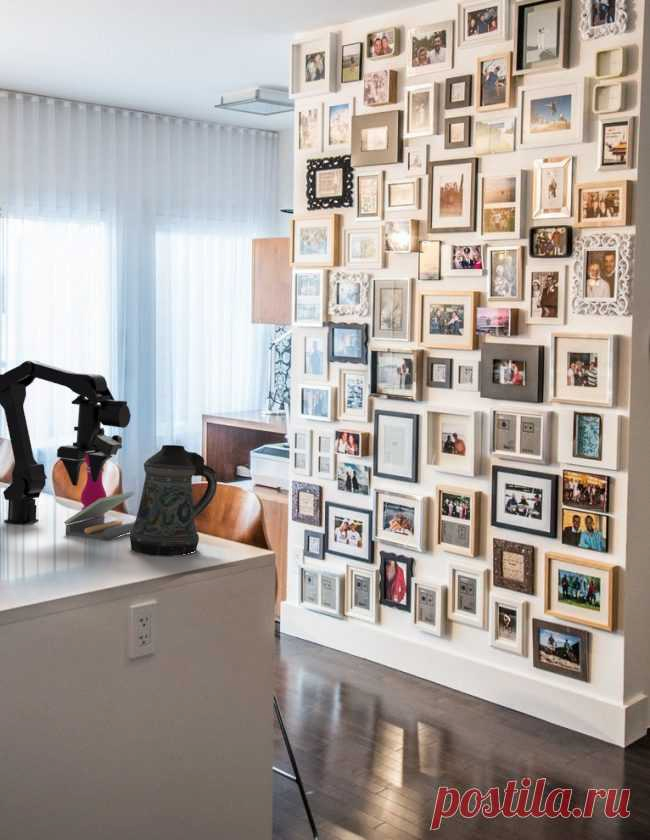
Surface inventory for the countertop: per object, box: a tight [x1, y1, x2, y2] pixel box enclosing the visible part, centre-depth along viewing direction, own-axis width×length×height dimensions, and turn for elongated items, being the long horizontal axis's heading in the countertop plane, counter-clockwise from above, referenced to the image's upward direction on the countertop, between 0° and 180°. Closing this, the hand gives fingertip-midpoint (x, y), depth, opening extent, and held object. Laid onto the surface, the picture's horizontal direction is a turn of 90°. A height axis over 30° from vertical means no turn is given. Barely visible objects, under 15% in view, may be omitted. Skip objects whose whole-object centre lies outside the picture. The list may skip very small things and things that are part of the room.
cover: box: [63, 491, 135, 526], centre depth 259 cm, size 12×16×1 cm
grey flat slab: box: [65, 516, 135, 541], centre depth 259 cm, size 12×16×2 cm
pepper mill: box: [80, 454, 108, 516], centre depth 285 cm, size 7×7×20 cm
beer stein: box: [129, 444, 218, 557], centre depth 243 cm, size 16×19×25 cm
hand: (84, 483), depth 261 cm, fingers open, 9 cm apart
